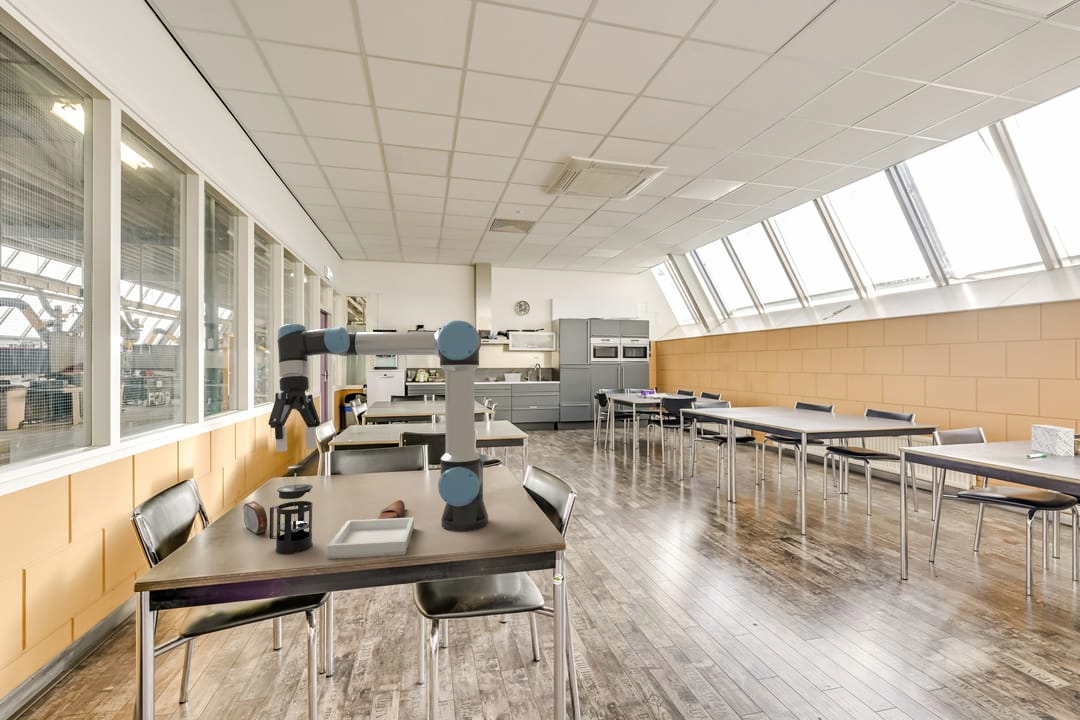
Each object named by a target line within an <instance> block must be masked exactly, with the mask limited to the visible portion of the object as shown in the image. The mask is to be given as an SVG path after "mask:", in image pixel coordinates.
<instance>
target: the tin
mask: <svg viewBox="0 0 1080 720" xmlns="http://www.w3.org/2000/svg"><path fill="white" fill-rule="evenodd" d="M242 509H243V522H244V525H245V527H246V528H247V529H248V530H249V531H250V532H251V533H253V534H255V535H259V534H262V533H263V534H264V533H266V532H267V530H268V517H267V516H268V515H267V512H266V509H265V507H264V506H263V505H262V504H260V503H258V502H257V501H255V500H253V501H251V502H250V501H249V502H246V503H244V505H243V507H242Z"/></svg>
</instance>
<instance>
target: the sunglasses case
mask: <svg viewBox="0 0 1080 720" xmlns="http://www.w3.org/2000/svg"><path fill="white" fill-rule="evenodd" d="M405 508H406V506H405V503H404V501H403V500H402V499H399V500H397V501H394V502H392V503H391V504H389V505H388V506H386V507H385V508H383V509H381V510H380V514H379V516H378V518H377V519H391V518H404V511H405Z"/></svg>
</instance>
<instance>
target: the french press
mask: <svg viewBox="0 0 1080 720" xmlns="http://www.w3.org/2000/svg"><path fill="white" fill-rule="evenodd" d="M303 468H304V465H302V464H301V465H300V464H299V465H298V464H295V465H289V466H287V467H286V469H287V470H293V474H294V484H290V485H289V484H288V485H284V486H280V487H278V488H277V490H276V491H277V492H278V498H279V499H282V500H293V501H289V502H285V503H281V504H278V505H272V506H271V507H269V534H268V535H269V539H270V540H275V542H276V543H275V549H274V551H275V553H277V554H278V555H279V554H280V555H293V554H294V555H295V554H299V553H303V552H305V551H308V550H310V549H311V548H312V547H313V545H314V543H313V502H312V501H308V500H298V501H297V499H300V498H303V496H304V495H306V494H307V493H310V492H311V491H312V489H313V485H312V484H307V483H304V484H303V483H302V484H301V483H299V484H298V483H297V474H298V469H303ZM290 507H293V509H292V508H291V509H287V508H290ZM296 507H297V508H296ZM285 508H286V509H285ZM275 509H276V535H274V525H275V524H274V523H275V520H274V517H275V515H274V513H275ZM307 512H308V520H305V513H307ZM281 515H284V523H281ZM292 515H293V521H292ZM296 515H297V520H296ZM306 529H308V531H307V530H306ZM281 532H282V534H281Z"/></svg>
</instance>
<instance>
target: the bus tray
mask: <svg viewBox="0 0 1080 720" xmlns="http://www.w3.org/2000/svg"><path fill="white" fill-rule="evenodd" d="M414 528H415V517H402V518H391V519H378V518H374V519H372V518H371V519H351V520H349V519H348V520H346V521H345V523H344V525H342V527H341V528H340V530H338V532H337V533H336V535H335V536H334V537H333V538H332V540H331V541H330V542H329V544H328V545H327V560H333V559H334V560H336V559H351V558H353V559H354V558H370V557H371V558H372V557H386V556H388V555H389V556H404V555H405V554H406V555H407V551H408V549H407V548H409V545H410V542H411V539H412V535H413V533H414V530H415V529H414ZM413 529H414V530H413ZM412 532H413V533H412ZM389 556H388V557H389Z"/></svg>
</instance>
